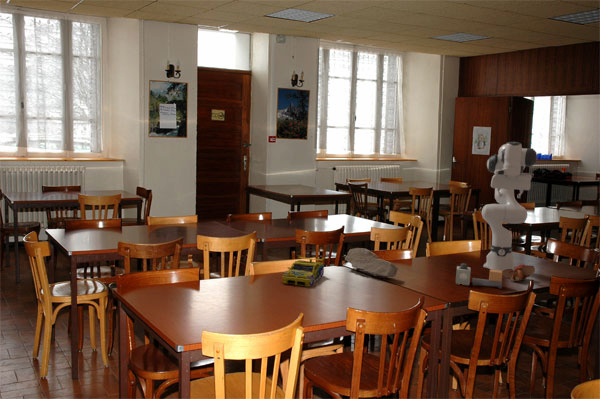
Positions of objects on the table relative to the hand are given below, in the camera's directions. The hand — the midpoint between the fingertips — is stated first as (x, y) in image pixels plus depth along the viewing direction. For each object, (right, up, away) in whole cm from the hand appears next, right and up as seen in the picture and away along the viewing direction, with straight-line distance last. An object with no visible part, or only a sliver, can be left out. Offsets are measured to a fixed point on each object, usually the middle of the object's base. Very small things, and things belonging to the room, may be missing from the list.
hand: (509, 197), depth 318 cm
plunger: (-26, -41, -4) cm, 48 cm away
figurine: (+7, -46, +9) cm, 48 cm away
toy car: (-112, -44, -10) cm, 120 cm away
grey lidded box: (-26, -46, -3) cm, 53 cm away
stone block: (-75, -43, +7) cm, 87 cm away
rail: (-14, -47, -6) cm, 49 cm away
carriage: (-10, -46, -7) cm, 48 cm away
